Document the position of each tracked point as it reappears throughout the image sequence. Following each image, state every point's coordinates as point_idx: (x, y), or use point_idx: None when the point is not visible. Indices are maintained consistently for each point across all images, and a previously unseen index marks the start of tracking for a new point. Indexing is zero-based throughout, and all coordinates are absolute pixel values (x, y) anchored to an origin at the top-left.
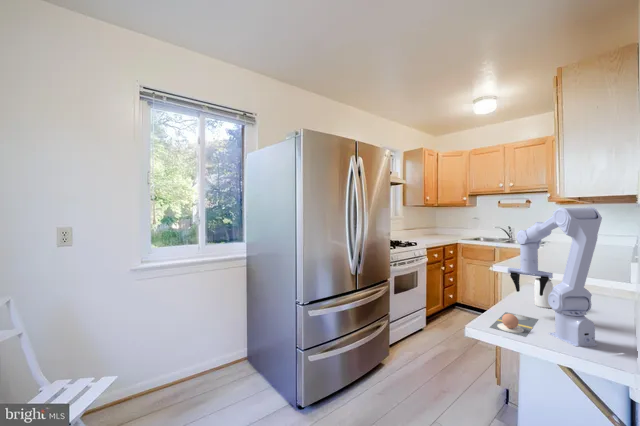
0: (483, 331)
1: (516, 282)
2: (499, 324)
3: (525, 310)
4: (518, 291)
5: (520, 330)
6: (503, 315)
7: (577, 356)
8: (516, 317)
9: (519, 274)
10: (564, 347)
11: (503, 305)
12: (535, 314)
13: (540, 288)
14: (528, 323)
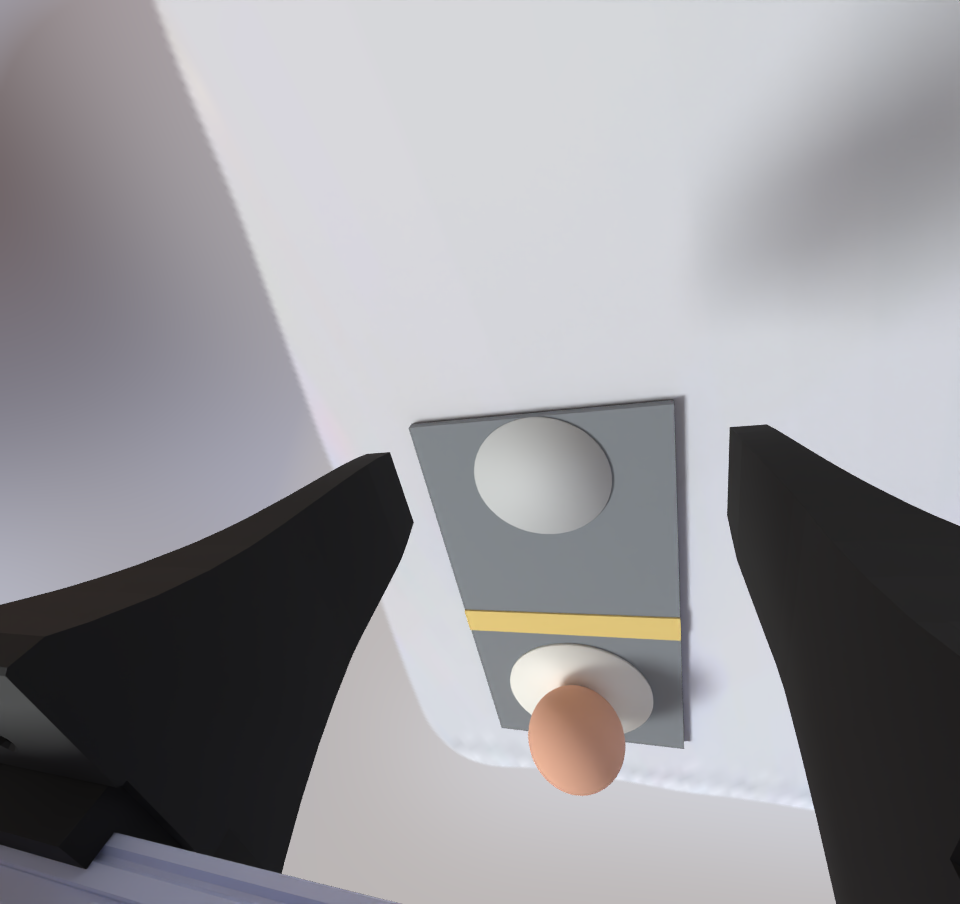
0: (504, 755)
1: (326, 681)
2: (517, 683)
3: (474, 157)
4: (410, 523)
5: (637, 702)
6: (535, 763)
7: None
8: (611, 769)
9: (87, 677)
10: None
11: (261, 189)
12: (602, 221)
13: (785, 657)
14: (636, 563)
